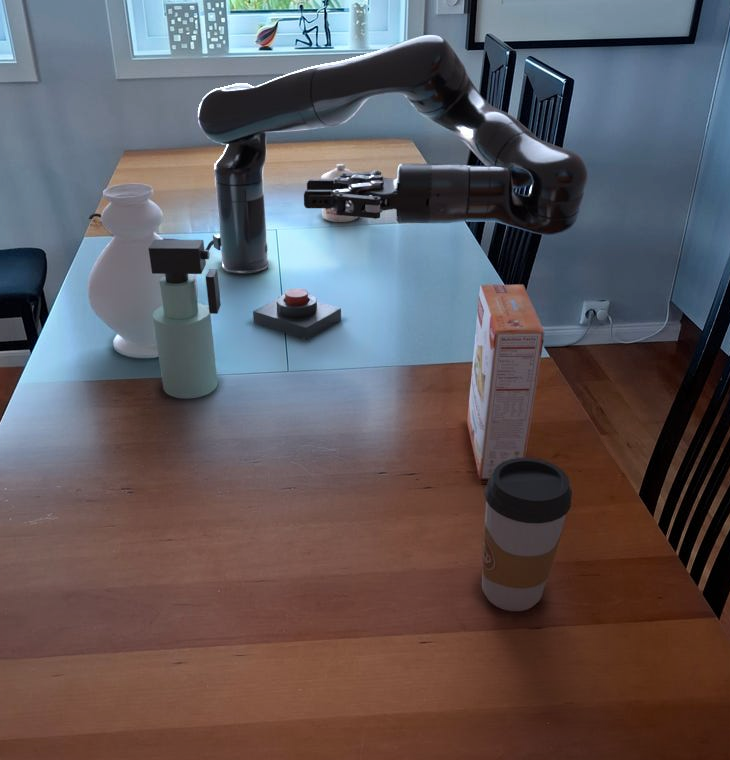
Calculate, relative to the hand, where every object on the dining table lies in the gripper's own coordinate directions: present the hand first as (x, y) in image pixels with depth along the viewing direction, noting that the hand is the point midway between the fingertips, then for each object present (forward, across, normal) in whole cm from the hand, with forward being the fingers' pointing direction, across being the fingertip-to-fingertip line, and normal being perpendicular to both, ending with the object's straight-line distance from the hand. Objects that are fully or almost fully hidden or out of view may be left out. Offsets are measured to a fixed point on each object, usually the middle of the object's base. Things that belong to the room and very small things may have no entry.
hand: (306, 193), depth 110 cm
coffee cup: (-25, +48, +28) cm, 61 cm away
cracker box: (-26, +20, +28) cm, 43 cm away
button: (+4, -21, +24) cm, 33 cm away
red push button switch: (+4, -21, +28) cm, 35 cm away
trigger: (+13, +3, +15) cm, 21 cm away
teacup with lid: (-2, -80, +28) cm, 85 cm away
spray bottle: (+19, +3, +28) cm, 34 cm away
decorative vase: (+28, -12, +28) cm, 42 cm away
